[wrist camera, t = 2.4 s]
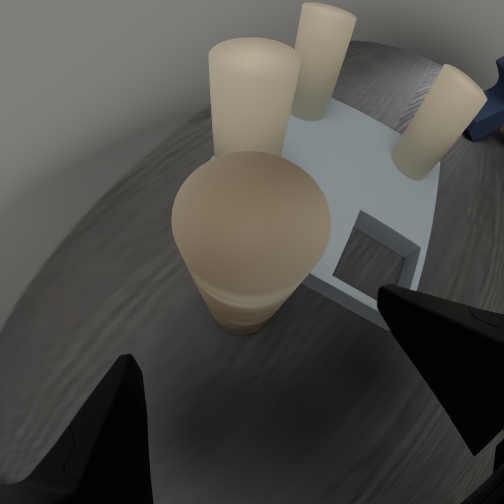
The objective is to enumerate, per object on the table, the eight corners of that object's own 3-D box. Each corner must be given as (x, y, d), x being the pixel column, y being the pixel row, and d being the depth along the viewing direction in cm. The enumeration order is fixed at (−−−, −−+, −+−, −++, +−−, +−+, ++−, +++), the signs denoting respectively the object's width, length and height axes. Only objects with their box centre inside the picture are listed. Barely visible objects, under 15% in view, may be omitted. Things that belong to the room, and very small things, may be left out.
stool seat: (428, 174, 25) (493, 92, 13) (387, 331, 19) (528, 283, 7) (283, 96, 27) (302, -7, 15) (181, 217, 21) (139, 72, 9)
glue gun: (481, 179, 40) (530, 151, 30) (466, 104, 20) (544, 60, 9) (467, 154, 42) (516, 127, 32) (437, 68, 21) (512, 27, 11)
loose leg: (279, 293, 19) (347, 185, 7) (255, 345, 18) (297, 321, 6) (227, 269, 20) (219, 134, 8) (201, 320, 18) (141, 246, 6)
